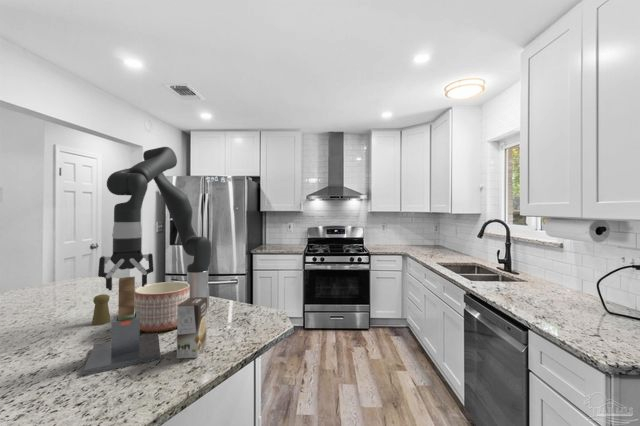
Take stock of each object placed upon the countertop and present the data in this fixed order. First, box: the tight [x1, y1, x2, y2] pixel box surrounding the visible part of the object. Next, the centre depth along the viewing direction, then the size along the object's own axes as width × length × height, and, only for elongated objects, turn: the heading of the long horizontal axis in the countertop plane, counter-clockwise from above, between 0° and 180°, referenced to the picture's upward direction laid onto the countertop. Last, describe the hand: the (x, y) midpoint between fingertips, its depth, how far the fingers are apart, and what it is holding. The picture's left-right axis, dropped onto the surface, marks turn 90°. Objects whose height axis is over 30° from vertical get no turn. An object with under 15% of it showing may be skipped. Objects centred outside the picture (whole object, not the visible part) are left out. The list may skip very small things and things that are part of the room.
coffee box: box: [176, 297, 208, 359], centre depth 91 cm, size 9×6×16 cm
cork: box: [91, 293, 112, 326], centre depth 115 cm, size 6×6×11 cm
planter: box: [134, 281, 190, 333], centre depth 113 cm, size 19×19×15 cm
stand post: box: [117, 276, 136, 320], centre depth 90 cm, size 4×4×16 cm
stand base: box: [83, 312, 161, 376], centre depth 89 cm, size 18×18×12 cm
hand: (127, 288), depth 90 cm, fingers open, 8 cm apart
